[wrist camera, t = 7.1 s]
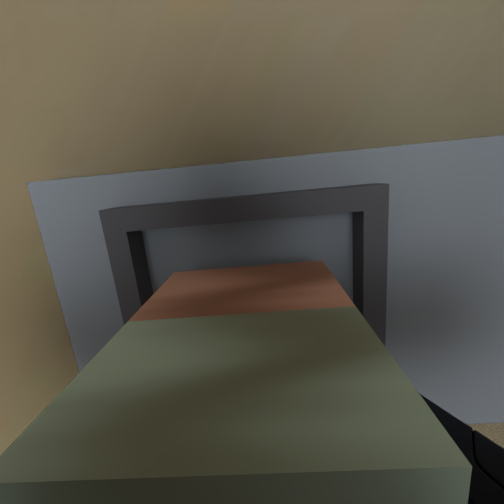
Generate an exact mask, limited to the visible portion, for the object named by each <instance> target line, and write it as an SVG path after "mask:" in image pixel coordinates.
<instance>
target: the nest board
mask: <svg viewBox="0 0 504 504" xmlns="http://www.w3.org/2000/svg"><path fill="white" fill-rule="evenodd" d="M27 186H28V189H29V193H30V196H31V200H32V204H33V207H34V211H35V214H36V218H37V222H38V225H39V229H40V233H41V236H42V240H43V243H44V247H45V251H46V254H47V258H48V261H49V265H50V269H51V272H52V276H53V279H54V283H55V287H56V290H57V294H58V297H59V301H60V305H61V308H62V312H63V315H64V319H65V323H66V326H67V330H68V333H69V337H70V341H71V344H72V348H73V351H74V355H75V359H76V362H77V366H78V369H79V372H80V371H81V370H82V369H83V368H84V367H85V366H86V365H87V364H88V363H89V362H90V361H91V360H92V359H93V358H94V356H95V355H96V354H97V353H98V352H99V351H100V350H101V349H102V348H103V347H104V346H105V345H106V344H107V343H108V342H109V341H110V340H111V339H112V337H113V336H114V335H115V334H116V333H117V332H118V331H119V330H120V329H121V328H122V327H123V326H124V325H125V324H126V323H127V322H128V321H129V320H130V318H131V317H132V316H133V315H134V314H135V313H136V312H137V311H138V310H139V309H140V308H141V307H142V306H143V305H144V304H145V303H146V302H147V301H148V299H149V298H150V297H151V296H152V295H153V294H154V293H155V292H156V291H157V290H158V289H159V288H160V287H161V286H162V285H163V284H164V283H165V282H166V280H167V279H168V278H169V277H170V276H171V275H172V274H173V273H174V272H181V271H194V270H207V269H220V268H232V267H245V266H258V265H271V264H283V263H296V262H309V261H323V262H324V263H325V265H326V266H327V268H328V269H329V270H330V272H331V273H332V274H333V276H334V277H335V279H336V280H337V281H338V283H339V284H340V285H341V287H342V288H343V290H344V291H345V292H346V294H347V295H348V296H349V298H350V299H351V301H352V302H353V303H354V305H355V306H356V307H357V309H358V310H359V312H360V313H361V314H362V316H363V317H364V318H365V320H366V321H367V323H368V324H369V325H370V327H371V328H372V329H373V331H374V332H375V333H376V335H377V336H378V338H379V339H380V340H381V342H382V343H383V344H384V346H385V347H386V349H387V350H388V351H389V353H390V354H391V355H392V357H393V358H394V360H395V361H396V362H397V364H398V365H399V366H400V368H401V369H402V371H403V372H404V373H405V375H406V376H407V377H408V379H409V380H410V382H411V383H412V384H413V386H414V387H415V388H416V390H417V391H418V393H420V394H421V395H423V396H424V397H426V398H427V399H429V400H430V401H432V402H433V403H435V404H436V405H438V406H439V407H441V408H442V409H444V410H445V411H447V412H448V413H450V414H451V415H453V416H455V417H456V418H458V419H459V420H461V421H462V422H464V423H465V424H483V423H504V135H501V136H491V137H481V138H471V139H461V140H451V141H440V142H430V143H420V144H410V145H400V146H390V147H380V148H370V149H360V150H350V151H340V152H330V153H320V154H309V155H299V156H289V157H279V158H269V159H259V160H249V161H239V162H229V163H219V164H209V165H199V166H189V167H179V168H168V169H158V170H148V171H138V172H128V173H118V174H108V175H98V176H88V177H78V178H68V179H58V180H48V181H37V182H27Z"/></svg>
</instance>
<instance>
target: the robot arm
mask: <svg viewBox="0 0 504 504" xmlns="http://www.w3.org/2000/svg"><path fill="white" fill-rule="evenodd" d="M419 394H420V393H419ZM420 395H421V394H420ZM421 397H422V398H423V399H424V401H425V402H426V404H427V405H428V406H429V408H430V409H431V410H432V412H433V413H434V415H435V416H436V417H437V419H438V420H439V421H440V423H441V424H442V426H443V427H444V428H445V430H446V431H447V432H448V434H449V435H450V437H451V438H452V439H453V441H454V442H455V443H456V445H457V446H458V448H459V449H460V450H461V452H462V453H463V454H464V456H465V457H466V459H467V460H468V461H469V463H470V464H471V465H472V472H471V481H470V489H469V497H468V504H504V448H502V447H501V446H499V445H497V444H496V443H494V442H493V441H491V440H490V439H488V438H487V437H485V436H484V435H482V434H481V433H479V432H478V431H476V430H474V431H473V429H472V428H471V427H470V426H468V425H467V424H465V423H464V422H462V421H461V420H459V419H458V418H456V417H455V416H453V415H451V414H450V413H448V412H447V411H445V410H444V409H442V408H441V407H439V406H438V405H436V404H435V403H433V402H432V401H430V400H429V399H427V398H426V397H424V396H423V395H421Z"/></svg>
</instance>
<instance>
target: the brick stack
mask: <svg viewBox="0 0 504 504" xmlns="http://www.w3.org/2000/svg"><path fill="white" fill-rule="evenodd" d="M471 472H472V465H471V464H470V463H469V461H468V460H467V459H466V457H465V456H464V454H463V453H462V452H461V450H460V449H459V448H458V446H457V445H456V443H455V442H454V441H453V439H452V438H451V437H450V435H449V434H448V432H447V431H446V430H445V428H444V427H443V426H442V424H441V423H440V421H439V420H438V419H437V417H436V416H435V415H434V413H433V412H432V410H431V409H430V408H429V406H428V405H427V404H426V402H425V401H424V399H423V398H422V397H421V395H420V394H419V393H418V391H417V390H416V388H415V387H414V386H413V384H412V383H411V382H410V380H409V379H408V377H407V376H406V375H405V373H404V372H403V371H402V369H401V368H400V366H399V365H398V364H397V362H396V361H395V360H394V358H393V357H392V355H391V354H390V353H389V351H388V350H387V349H386V347H385V346H384V344H383V343H382V342H381V340H380V339H379V338H378V336H377V335H376V333H375V332H374V331H373V329H372V328H371V327H370V325H369V324H368V323H367V321H366V320H365V318H364V317H363V316H362V314H361V313H360V312H359V310H358V309H357V307H356V306H355V305H354V303H353V302H352V301H351V299H350V298H349V296H348V295H347V294H346V292H345V291H344V290H343V288H342V287H341V285H340V284H339V283H338V281H337V280H336V279H335V277H334V276H333V274H332V273H331V272H330V270H329V269H328V268H327V266H326V265H325V263H324V262H323V261H309V262H296V263H283V264H271V265H258V266H245V267H232V268H220V269H207V270H194V271H181V272H174V273H173V274H172V275H171V276H170V277H169V278H168V279H167V280H166V282H165V283H164V284H163V285H162V286H161V287H160V288H159V289H158V290H157V291H156V292H155V293H154V294H153V295H152V296H151V297H150V298H149V299H148V301H147V302H146V303H145V304H144V305H143V306H142V307H141V308H140V309H139V310H138V311H137V312H136V313H135V314H134V315H133V316H132V317H131V318H130V320H129V321H128V322H127V323H126V324H125V325H124V326H123V327H122V328H121V329H120V330H119V331H118V332H117V333H116V334H115V335H114V336H113V337H112V339H111V340H110V341H109V342H108V343H107V344H106V345H105V346H104V347H103V348H102V349H101V350H100V351H99V352H98V353H97V354H96V355H95V356H94V358H93V359H92V360H91V361H90V362H89V363H88V364H87V365H86V366H85V367H84V368H83V369H82V370H81V371H80V372H79V373H78V374H77V376H76V377H75V378H74V379H73V380H72V381H71V382H70V383H69V384H68V385H67V386H66V387H65V388H64V389H63V390H62V391H61V392H60V393H59V395H58V396H57V397H56V398H55V399H54V400H53V401H52V402H51V403H50V404H49V405H48V406H47V407H46V408H45V409H44V410H43V411H42V412H41V414H40V415H39V416H38V417H37V418H36V419H35V420H34V421H33V422H32V423H31V424H30V425H29V426H28V427H27V428H26V429H25V430H24V431H23V433H22V434H21V435H20V436H19V437H18V438H17V439H16V440H15V441H14V442H13V443H12V444H11V445H10V446H9V447H8V448H7V449H6V450H5V452H4V453H3V454H2V455H1V456H0V504H468V497H469V489H470V481H471Z"/></svg>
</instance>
